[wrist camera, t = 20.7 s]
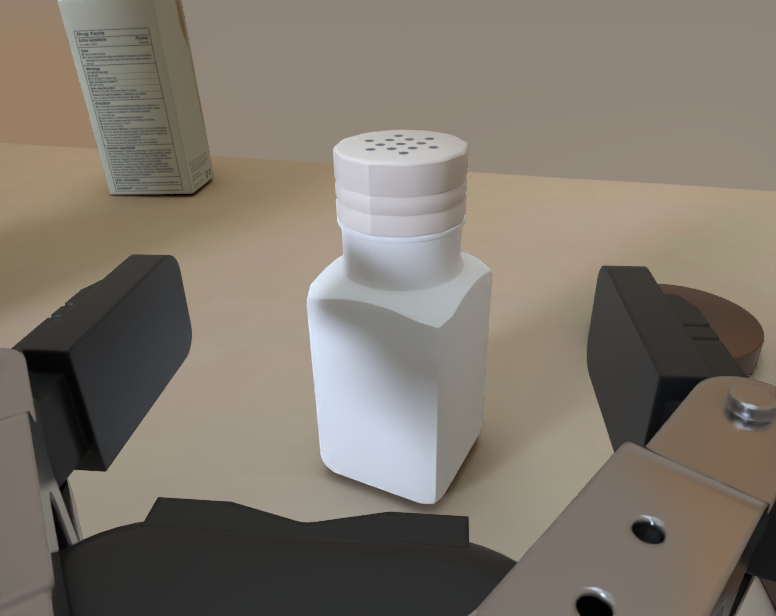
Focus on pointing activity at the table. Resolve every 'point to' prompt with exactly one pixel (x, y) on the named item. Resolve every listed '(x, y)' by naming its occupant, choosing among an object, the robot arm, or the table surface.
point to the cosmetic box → (140, 93)
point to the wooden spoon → (729, 340)
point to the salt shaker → (400, 317)
